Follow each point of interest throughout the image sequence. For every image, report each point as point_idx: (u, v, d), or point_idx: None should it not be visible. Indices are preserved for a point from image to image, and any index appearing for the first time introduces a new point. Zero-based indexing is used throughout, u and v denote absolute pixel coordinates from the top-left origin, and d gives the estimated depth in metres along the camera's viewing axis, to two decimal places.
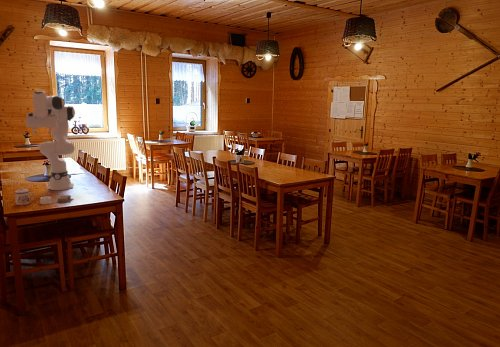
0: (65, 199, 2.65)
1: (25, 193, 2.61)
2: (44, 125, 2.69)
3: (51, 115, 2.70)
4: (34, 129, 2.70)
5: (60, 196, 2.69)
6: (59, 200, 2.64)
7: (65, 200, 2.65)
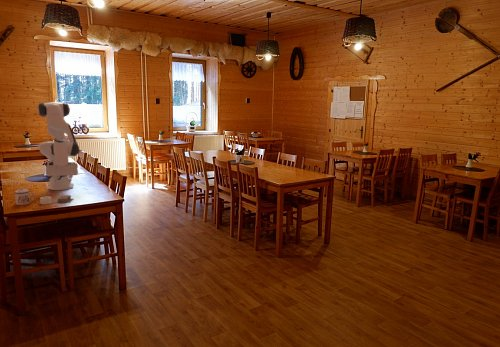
0: (65, 199, 2.65)
1: (25, 193, 2.61)
2: (64, 173, 2.64)
3: (71, 163, 2.65)
4: (54, 177, 2.65)
5: (60, 196, 2.69)
6: (59, 200, 2.64)
7: (65, 200, 2.65)
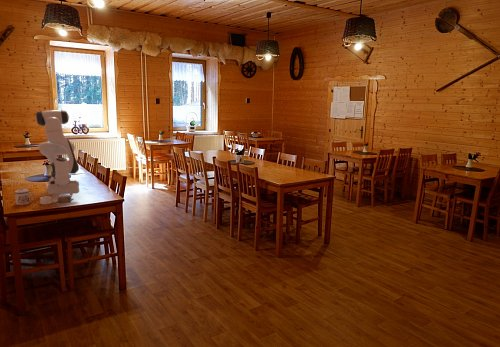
0: (65, 199, 2.65)
1: (25, 193, 2.61)
2: (65, 192, 2.66)
3: (73, 181, 2.67)
4: (57, 195, 2.68)
5: (60, 196, 2.69)
6: (59, 200, 2.64)
7: (65, 200, 2.65)
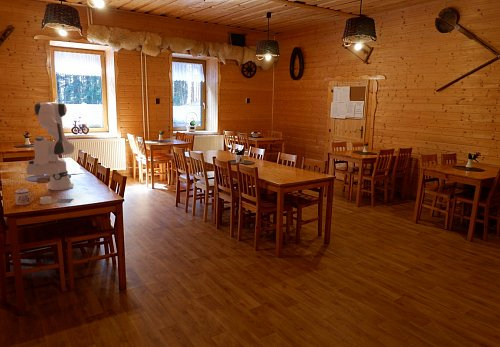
0: (44, 180, 2.56)
1: (25, 193, 2.61)
2: (45, 172, 2.58)
3: (53, 162, 2.59)
4: None
5: (40, 177, 2.60)
6: (38, 181, 2.55)
7: (44, 181, 2.56)
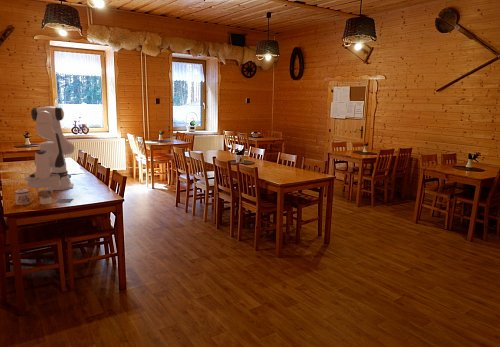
0: (45, 193, 2.57)
1: (25, 193, 2.61)
2: (46, 186, 2.59)
3: (54, 175, 2.60)
4: None
5: (41, 190, 2.62)
6: (39, 194, 2.57)
7: (45, 194, 2.58)
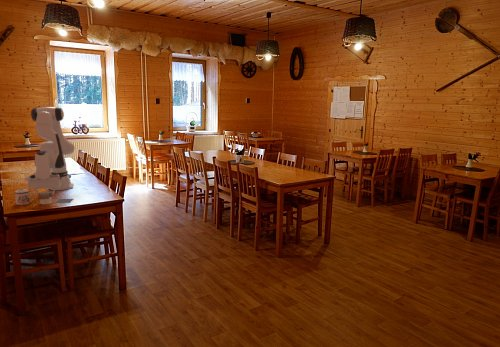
0: (46, 195, 2.58)
1: (25, 193, 2.61)
2: (46, 186, 2.59)
3: (54, 176, 2.60)
4: (36, 190, 2.61)
5: None
6: (39, 196, 2.57)
7: (46, 196, 2.58)
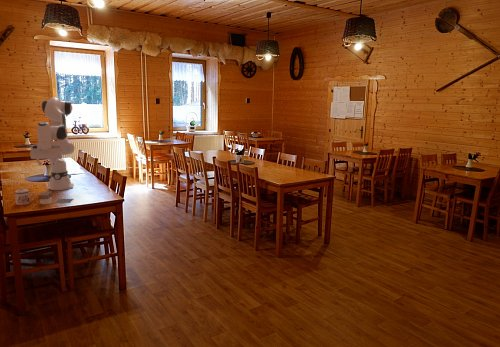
0: (46, 195, 2.58)
1: (25, 193, 2.61)
2: (48, 157, 2.65)
3: (55, 146, 2.66)
4: (38, 160, 2.66)
5: None
6: (39, 196, 2.57)
7: (46, 196, 2.58)
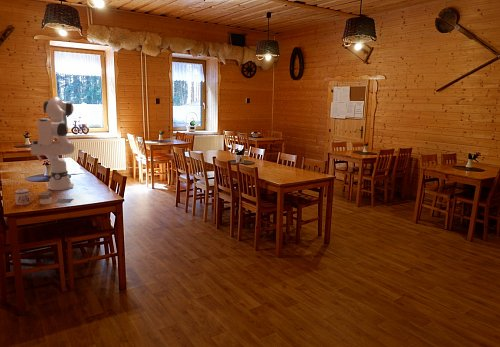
0: (46, 195, 2.58)
1: (25, 193, 2.61)
2: (49, 153, 2.66)
3: (56, 142, 2.67)
4: None
5: None
6: (39, 196, 2.57)
7: (46, 196, 2.58)
